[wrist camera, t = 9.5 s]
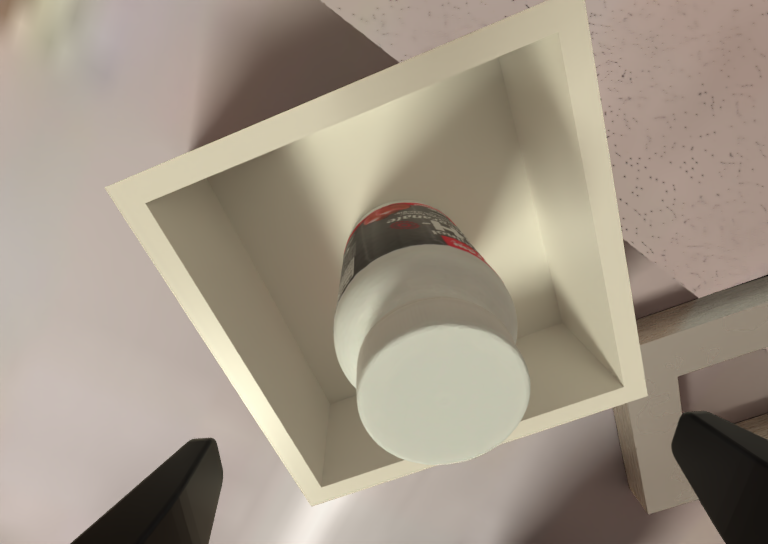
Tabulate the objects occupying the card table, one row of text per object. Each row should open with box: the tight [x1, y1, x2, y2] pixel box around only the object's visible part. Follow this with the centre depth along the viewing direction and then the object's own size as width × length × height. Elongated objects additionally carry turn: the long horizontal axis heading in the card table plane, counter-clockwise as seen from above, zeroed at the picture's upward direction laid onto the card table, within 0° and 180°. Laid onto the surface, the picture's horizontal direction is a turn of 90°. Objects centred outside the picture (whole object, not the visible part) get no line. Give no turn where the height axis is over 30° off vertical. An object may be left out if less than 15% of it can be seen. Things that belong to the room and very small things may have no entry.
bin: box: [105, 0, 648, 506], centre depth 16 cm, size 14×14×6 cm
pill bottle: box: [333, 200, 530, 465], centre depth 14 cm, size 5×5×10 cm
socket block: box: [613, 275, 768, 515], centre depth 22 cm, size 12×12×2 cm
